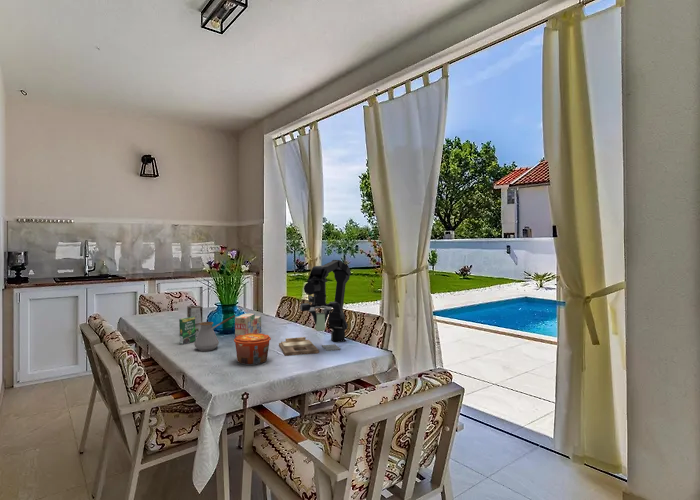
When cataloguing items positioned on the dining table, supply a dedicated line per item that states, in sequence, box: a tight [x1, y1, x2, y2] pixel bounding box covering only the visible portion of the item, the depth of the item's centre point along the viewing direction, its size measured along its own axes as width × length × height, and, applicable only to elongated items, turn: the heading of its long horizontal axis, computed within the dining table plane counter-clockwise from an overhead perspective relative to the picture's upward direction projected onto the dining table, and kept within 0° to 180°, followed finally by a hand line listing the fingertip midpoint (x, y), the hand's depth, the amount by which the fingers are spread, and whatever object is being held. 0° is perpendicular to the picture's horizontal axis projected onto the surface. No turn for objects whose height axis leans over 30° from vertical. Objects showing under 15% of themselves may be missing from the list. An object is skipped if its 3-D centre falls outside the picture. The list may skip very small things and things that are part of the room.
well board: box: [278, 340, 320, 357], centre depth 209 cm, size 16×19×2 cm
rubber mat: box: [321, 343, 341, 352], centre depth 212 cm, size 7×9×1 cm
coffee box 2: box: [178, 317, 197, 345], centre depth 222 cm, size 8×3×13 cm, turn 147°
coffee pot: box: [193, 315, 237, 352], centre depth 213 cm, size 21×12×15 cm, turn 131°
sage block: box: [314, 312, 326, 332], centre depth 209 cm, size 4×4×8 cm
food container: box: [233, 332, 272, 366], centre depth 190 cm, size 16×16×11 cm
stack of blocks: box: [234, 313, 262, 339], centre depth 238 cm, size 21×6×12 cm, turn 169°
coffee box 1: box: [186, 304, 203, 336], centre depth 239 cm, size 9×6×16 cm
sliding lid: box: [280, 336, 313, 348], centre depth 213 cm, size 14×9×3 cm, turn 108°
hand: (320, 323), depth 210 cm, fingers closed on sage block, 4 cm apart
